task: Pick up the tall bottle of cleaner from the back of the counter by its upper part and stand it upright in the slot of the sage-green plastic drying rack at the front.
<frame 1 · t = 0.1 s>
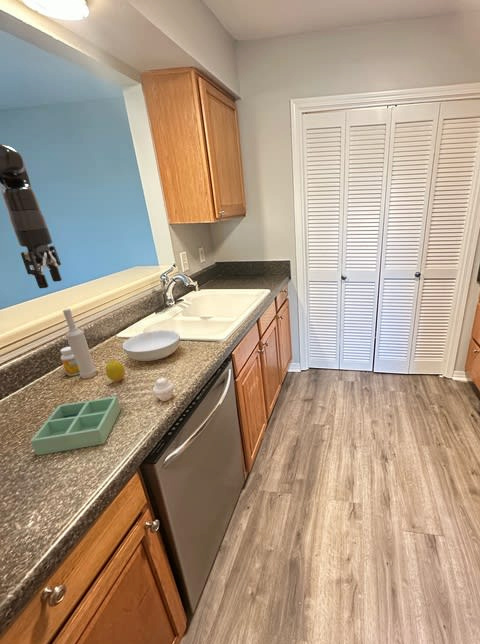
hand: (51, 284, 97), 35 cm above the countertop, tool pointing down, fingers open, 8 cm apart
supplement bottle: (75, 372, 119), on the countertop
rack: (83, 430, 88), on the countertop
lemon: (118, 381, 112), on the countertop
muffin: (165, 398, 101), on the countertop
bottle: (89, 375, 117), on the countertop
serving bowl: (155, 355, 130), on the countertop
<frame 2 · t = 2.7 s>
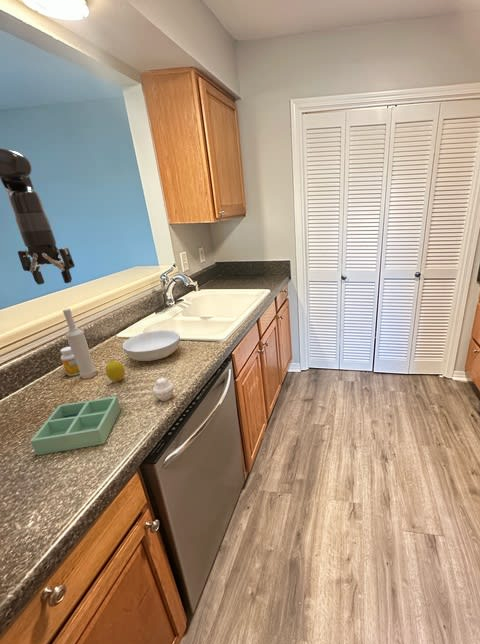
hand: (54, 283, 101), 34 cm above the countertop, tool pointing down, fingers open, 8 cm apart
nothing on the countertop moved.
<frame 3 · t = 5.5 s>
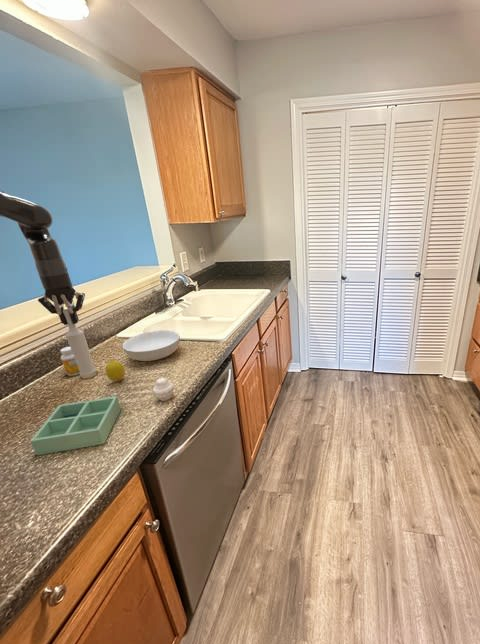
hand: (71, 323, 109), 20 cm above the countertop, tool pointing down, fingers closed on bottle, 2 cm apart
bottle: (89, 375, 117), on the countertop, touching gripper
everything else where it was.
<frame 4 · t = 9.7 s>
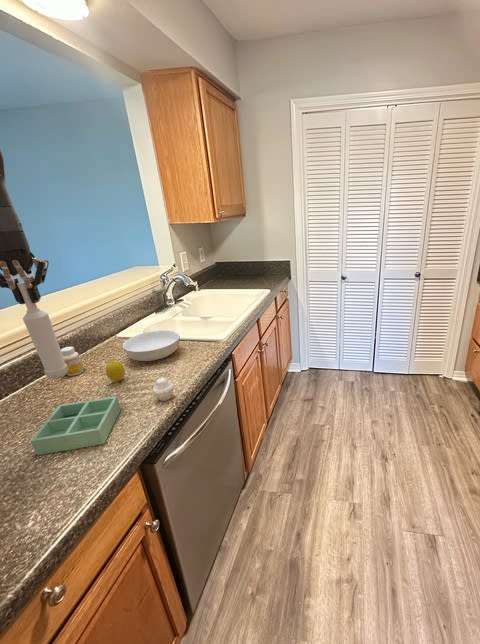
hand: (30, 302, 80), 35 cm above the countertop, tool pointing down, fingers closed on bottle
bottle: (58, 374, 88), point 15 cm above the countertop, touching gripper
everything else where it was.
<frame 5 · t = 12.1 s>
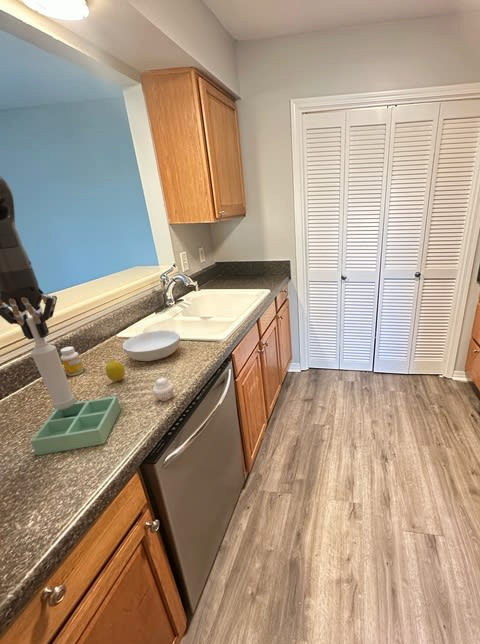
hand: (38, 337, 80), 27 cm above the countertop, tool pointing down, fingers closed on bottle
bottle: (65, 405, 88), point 6 cm above the countertop, touching gripper
everything else where it was.
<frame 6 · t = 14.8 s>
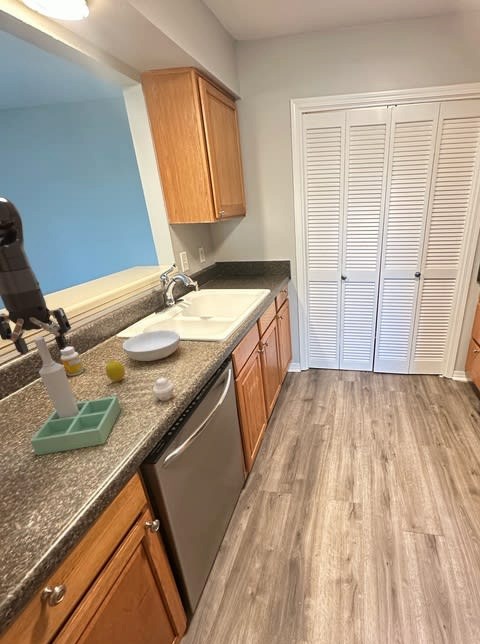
hand: (44, 350, 82), 23 cm above the countertop, tool pointing down, fingers open, 8 cm apart
bottle: (72, 421, 90), point 1 cm above the countertop, touching rack
everything else where it was.
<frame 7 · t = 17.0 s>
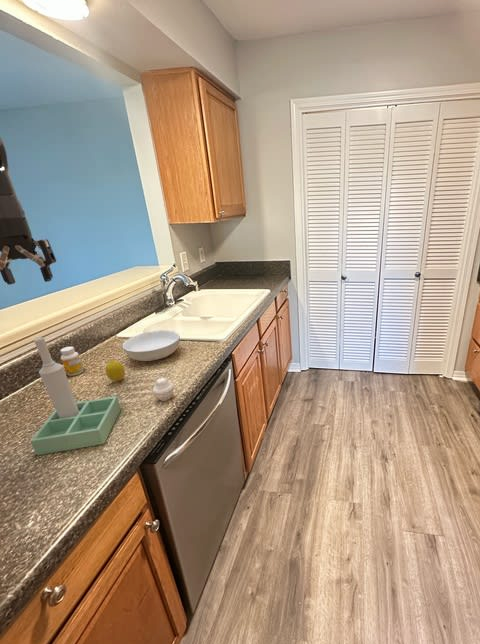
hand: (30, 282, 84), 38 cm above the countertop, tool pointing down, fingers open, 8 cm apart
nothing on the countertop moved.
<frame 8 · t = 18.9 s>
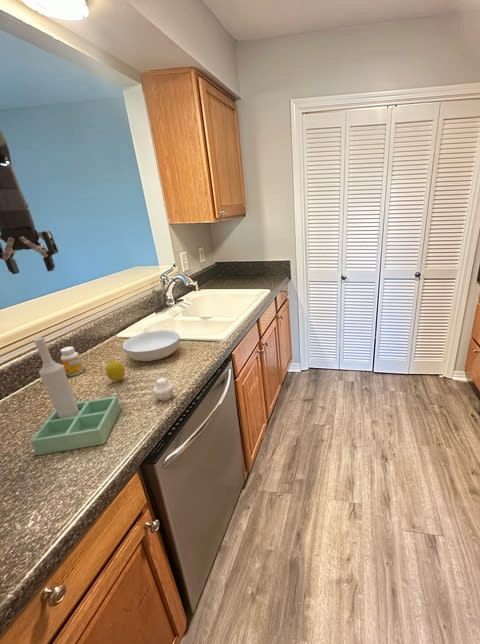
hand: (33, 272, 89), 40 cm above the countertop, tool pointing down, fingers open, 8 cm apart
nothing on the countertop moved.
at the end: bottle 0.2 cm from the target spot in the rack, point 1.0 cm above the rack's base; bottle tilted 0°; the gripper is holding nothing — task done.
